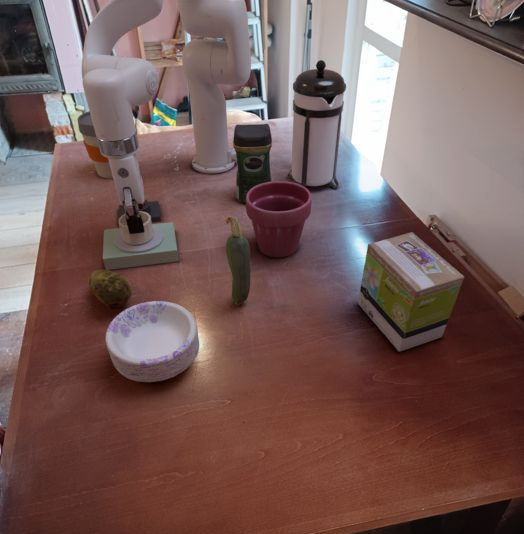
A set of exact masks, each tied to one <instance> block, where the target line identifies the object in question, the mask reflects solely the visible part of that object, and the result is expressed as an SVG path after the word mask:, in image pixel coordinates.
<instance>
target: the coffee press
mask: <svg viewBox="0 0 524 534" xmlns="http://www.w3.org/2000/svg"><path fill="white" fill-rule="evenodd" d="M326 67H327V65H326V61H324V60H323V59H320V60H318V61H317V62H316V64H315V68H313V69H307V70H305V71H302V72H300V74H298V75H297V76H296V78H295V80H294V82H293V83H292V90H293V100H292V112H293V115H292V118H293V119H292V141H291V142H292V143H291V169H290V171H289V172H288V174H287V178H288V179H290V180H291V179H293V180H294V181H295V182H296V183H297V184H299V185H302V186H304V187H305V188H307V189H308V187H319V186H325V185H327V184H328V185H330V187H331V188H332V189H334V190H336V189H337V188H338V187H339V184H340V183H339V181H338V180H337V177H336V176H337V165H338V156H339V146H340V137H341V129H342V127H341V126H342V117H343V116H342V115H343V111H344V103H345V101H344V95H345V92H346V90H347V84H346V82H345V79H344V77H343V76H342V75H341V74H340V73H338V72H337V71H334V70H331V69H326ZM332 181H334V183H333V182H332Z"/></svg>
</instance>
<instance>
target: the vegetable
mask: <svg viewBox="0 0 524 534" xmlns="http://www.w3.org/2000/svg"><path fill="white" fill-rule="evenodd" d="M225 223H226V225H228V224H229V223H230V231H231V234H230V235H229V237H227V240H226V242H225V253H226V259H227V263H228V267H229V269H230V272H231V276H232V281H231V282H232V283H231V299H232V301H233V302H234V304H235V306H237V305H238V306H239V305H242V304H243V303H244V302H246V301H247V300H248V297H249V294H250V289H251V271H252V270H251V268H252V267H251V266H252V265H251V248H250V243H249V241H248V239H247V237H246V236H245V235H243V229H242V227H241V225H240V223H239V221H238V219H237V218H236V217H233V216H231V215H229V216H227V217H226V218H225Z"/></svg>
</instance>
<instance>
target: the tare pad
mask: <svg viewBox="0 0 524 534" xmlns="http://www.w3.org/2000/svg"><path fill="white" fill-rule="evenodd" d="M160 209H161V207H160V202H159V201H158V200H154V201H149V200H147V199H144V206H143V209H139V211H143V212H146V213H148V214H149V215H150V216H151V221H152V223H158V222H162V218H161V210H160ZM124 214H125V209H124V206H122V205H121V204H119V205H118V219H119V218H120V217H121V216H122V215H124Z"/></svg>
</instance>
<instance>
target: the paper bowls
mask: <svg viewBox="0 0 524 534" xmlns="http://www.w3.org/2000/svg"><path fill="white" fill-rule="evenodd" d="M104 341H105V345H106V348H107V351H108V353H109V356H110V359H111V362H112V365H113V367H114V368H115V369H116V370H117V372H118V373H119V374H120V375H122V376H123V377H125V378H127V379H128V380H131V381H135V382H139V383H140V382H143V383H155V382H162V381H165V380H168V379H171V378H174V377H176V376H177V375H179V374H181V373H183V372H184V371H185V370H187V369H188V368H189V367H190V366H191V365H192V363H193V362H195V360H196V358H197V356H198V354H199V350H200V339H199V331H198V326H197V321H196V318H195V317H194V316H193V314H192V313H191V312H190V311H189V310H187V308H185V307H184V306H182V305H180V304H177V303H175V302H170V301H164V300H150V301H145V302H141V303H138V304H135V305H131V306H129V307H128V308H126V309H124V310H123V311H121V312H120V313H119V314H117V315H116V316H115V317H114V318H113V319H112V321H111V322H110V323H109V325H108V327H107V328H106V332H105V340H104Z"/></svg>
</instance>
